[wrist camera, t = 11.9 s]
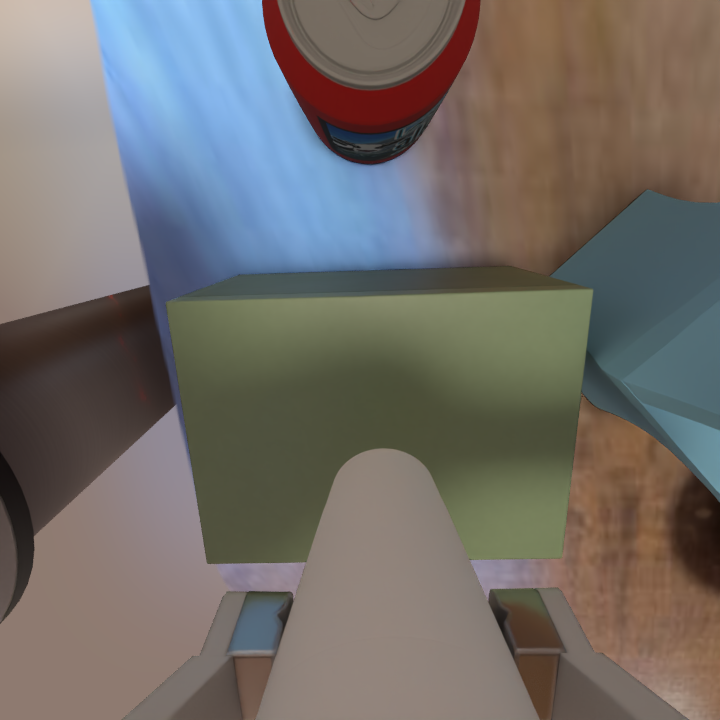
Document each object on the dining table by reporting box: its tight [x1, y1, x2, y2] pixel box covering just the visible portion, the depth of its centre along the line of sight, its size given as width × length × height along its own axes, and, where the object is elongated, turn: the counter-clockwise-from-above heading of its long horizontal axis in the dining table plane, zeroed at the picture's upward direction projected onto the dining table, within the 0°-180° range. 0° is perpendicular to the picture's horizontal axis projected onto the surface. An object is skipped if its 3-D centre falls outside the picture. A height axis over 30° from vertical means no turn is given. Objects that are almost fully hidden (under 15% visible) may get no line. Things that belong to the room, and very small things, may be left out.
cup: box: [255, 448, 540, 720], centre depth 9 cm, size 5×5×12 cm
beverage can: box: [262, 0, 480, 164], centre depth 18 cm, size 7×7×12 cm
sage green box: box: [166, 266, 593, 564], centre depth 23 cm, size 16×12×10 cm
